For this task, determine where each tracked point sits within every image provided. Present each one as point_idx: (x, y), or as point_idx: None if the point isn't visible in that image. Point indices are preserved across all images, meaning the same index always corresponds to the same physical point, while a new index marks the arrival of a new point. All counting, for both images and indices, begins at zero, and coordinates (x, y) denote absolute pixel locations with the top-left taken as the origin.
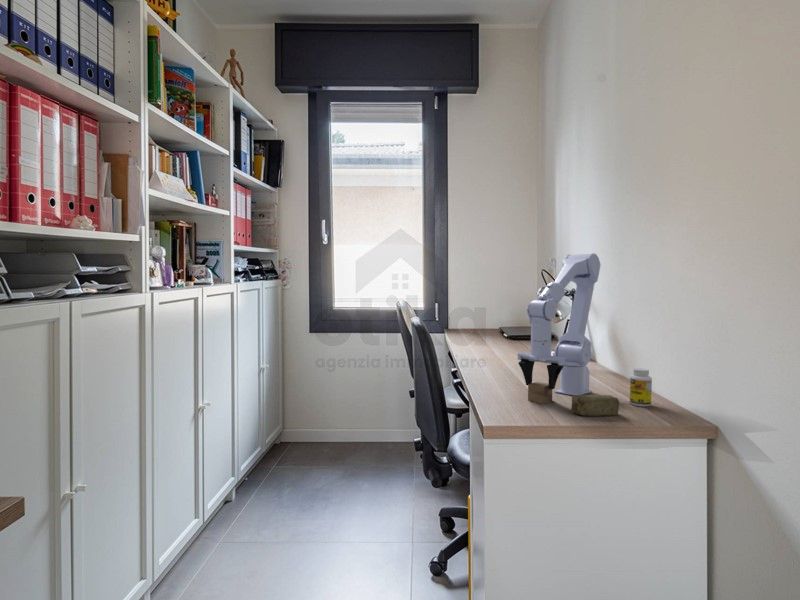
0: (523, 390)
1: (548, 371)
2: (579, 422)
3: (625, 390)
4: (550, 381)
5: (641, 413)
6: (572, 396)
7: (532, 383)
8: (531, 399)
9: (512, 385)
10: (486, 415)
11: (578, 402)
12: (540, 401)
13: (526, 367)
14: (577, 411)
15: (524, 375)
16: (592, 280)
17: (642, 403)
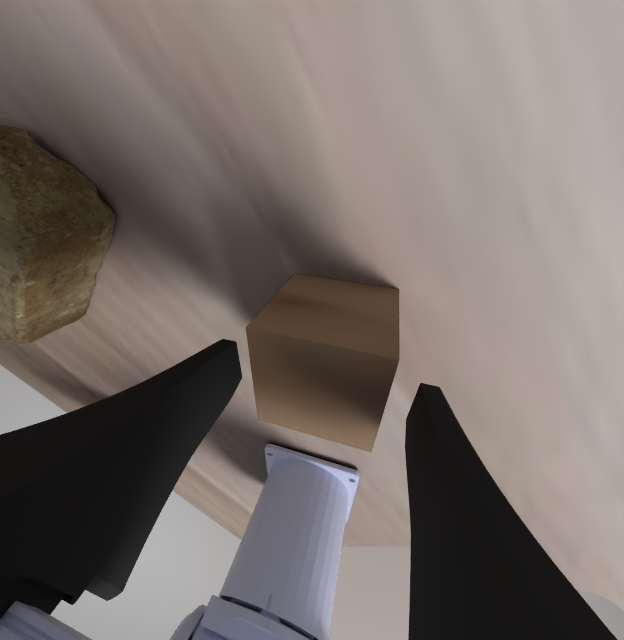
0: (505, 472)
1: (80, 444)
2: None
3: (236, 513)
4: (174, 368)
5: (48, 338)
6: (26, 231)
7: (376, 394)
8: (372, 290)
9: (597, 536)
10: None
11: None
12: (308, 279)
13: (468, 612)
14: (3, 128)
15: (475, 466)
16: None
17: None
